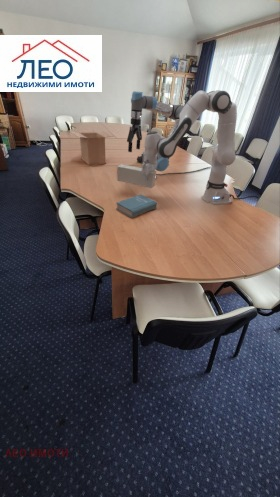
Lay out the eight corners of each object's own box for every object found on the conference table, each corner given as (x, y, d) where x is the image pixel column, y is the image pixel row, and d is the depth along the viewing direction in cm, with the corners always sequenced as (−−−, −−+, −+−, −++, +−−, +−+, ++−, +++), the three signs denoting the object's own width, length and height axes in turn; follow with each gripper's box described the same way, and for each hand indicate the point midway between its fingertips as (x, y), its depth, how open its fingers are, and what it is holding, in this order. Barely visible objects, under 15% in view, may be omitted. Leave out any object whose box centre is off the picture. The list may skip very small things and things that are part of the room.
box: (116, 165, 229) (116, 136, 213) (83, 168, 214) (80, 137, 198) (102, 154, 259) (101, 128, 243) (71, 156, 244) (68, 129, 228)
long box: (117, 180, 166) (117, 166, 160) (121, 178, 171) (121, 164, 165) (151, 188, 158) (152, 173, 152) (154, 185, 163) (156, 170, 156)
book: (140, 200, 162) (140, 194, 160) (156, 208, 154) (157, 202, 151) (116, 209, 149) (116, 202, 146) (132, 218, 140) (132, 211, 137)
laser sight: (156, 165, 238) (157, 155, 232) (135, 163, 241) (136, 153, 235) (157, 163, 245) (158, 153, 240) (137, 160, 248) (138, 151, 242)
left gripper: (132, 120, 145) (131, 154, 157) (148, 118, 164) (145, 148, 176) (122, 118, 147) (121, 152, 160) (138, 116, 166) (136, 147, 178)
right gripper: (148, 162, 141) (146, 183, 150) (159, 156, 157) (157, 175, 165) (139, 161, 143) (138, 181, 152) (151, 154, 159) (149, 173, 167)
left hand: (134, 150), depth 168 cm, fingers open, 13 cm apart
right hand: (148, 178), depth 158 cm, fingers closed on long box, 6 cm apart
